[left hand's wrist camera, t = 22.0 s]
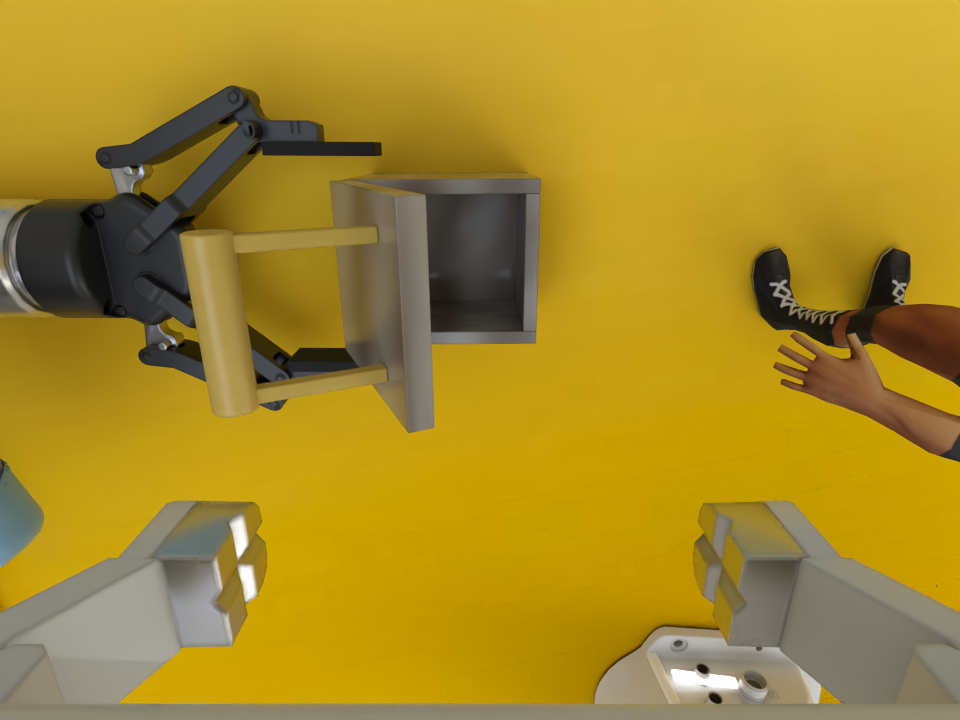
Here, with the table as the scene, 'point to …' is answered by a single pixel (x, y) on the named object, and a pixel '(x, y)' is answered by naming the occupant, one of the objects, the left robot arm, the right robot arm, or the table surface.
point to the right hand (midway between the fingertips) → (384, 261)
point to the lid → (364, 298)
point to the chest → (478, 253)
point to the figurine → (855, 381)
